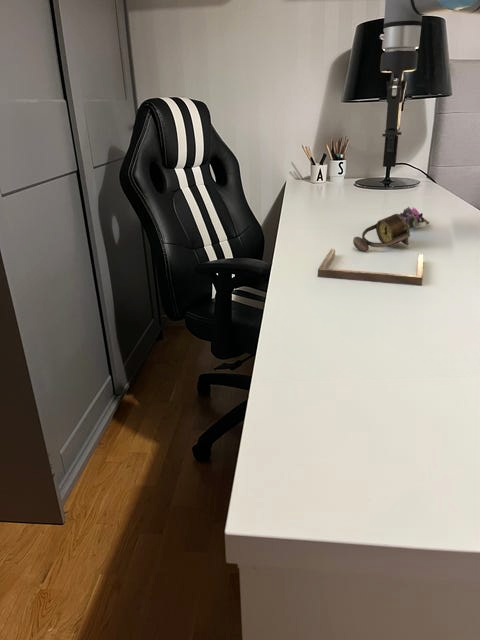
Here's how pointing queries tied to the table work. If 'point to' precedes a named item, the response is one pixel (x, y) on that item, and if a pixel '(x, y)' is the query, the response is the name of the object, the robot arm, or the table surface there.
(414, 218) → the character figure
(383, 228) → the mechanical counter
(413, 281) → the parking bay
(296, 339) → the table surface
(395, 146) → the robot arm
